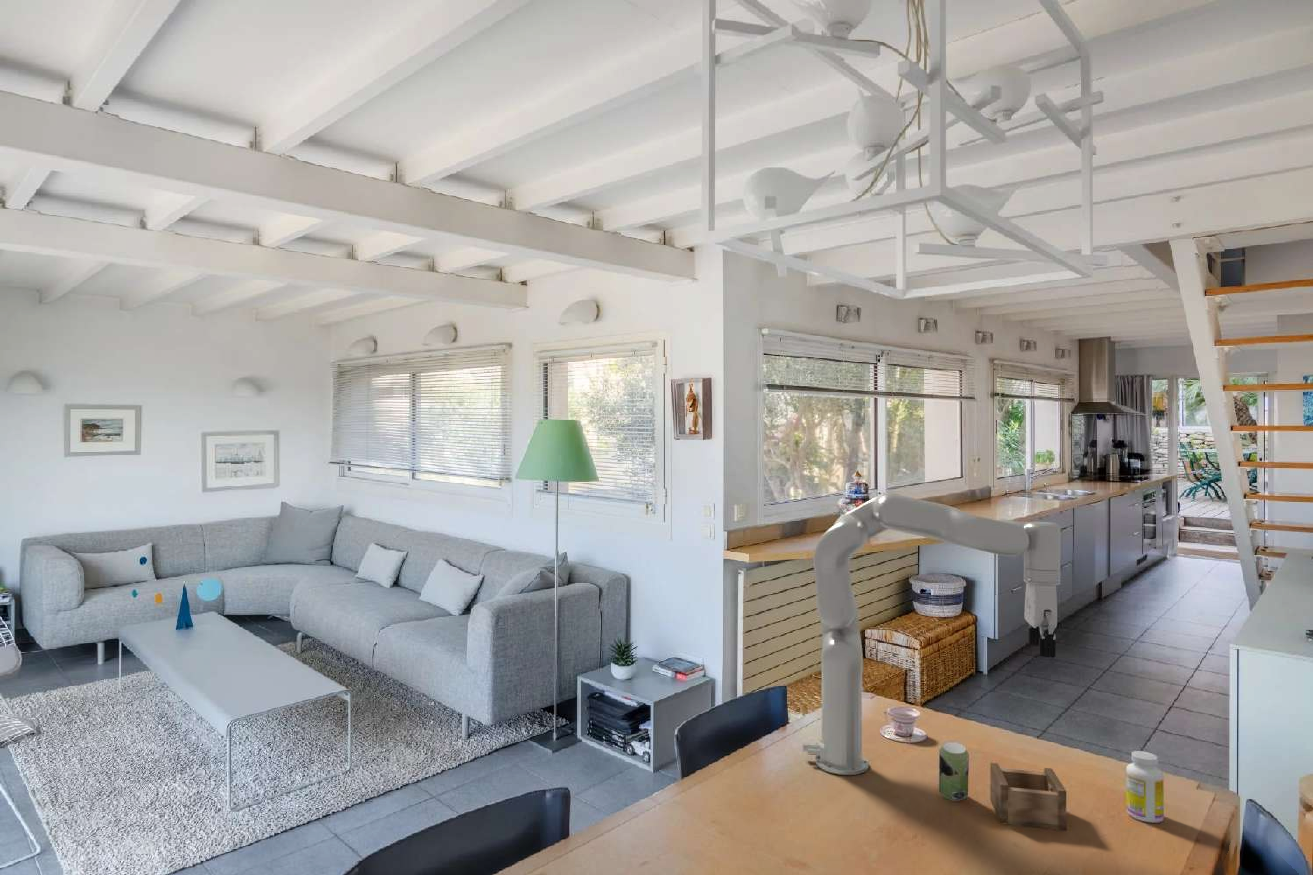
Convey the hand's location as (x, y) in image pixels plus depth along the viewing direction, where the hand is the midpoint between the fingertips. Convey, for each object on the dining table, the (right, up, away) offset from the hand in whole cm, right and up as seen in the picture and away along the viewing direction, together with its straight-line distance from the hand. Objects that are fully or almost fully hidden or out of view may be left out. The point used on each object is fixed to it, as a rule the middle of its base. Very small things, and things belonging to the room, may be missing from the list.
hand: (1041, 650), depth 177 cm
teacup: (-22, -31, +30) cm, 49 cm away
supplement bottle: (+15, -31, -14) cm, 37 cm away
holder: (-10, -31, -14) cm, 35 cm away
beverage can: (-23, -31, -7) cm, 39 cm away
